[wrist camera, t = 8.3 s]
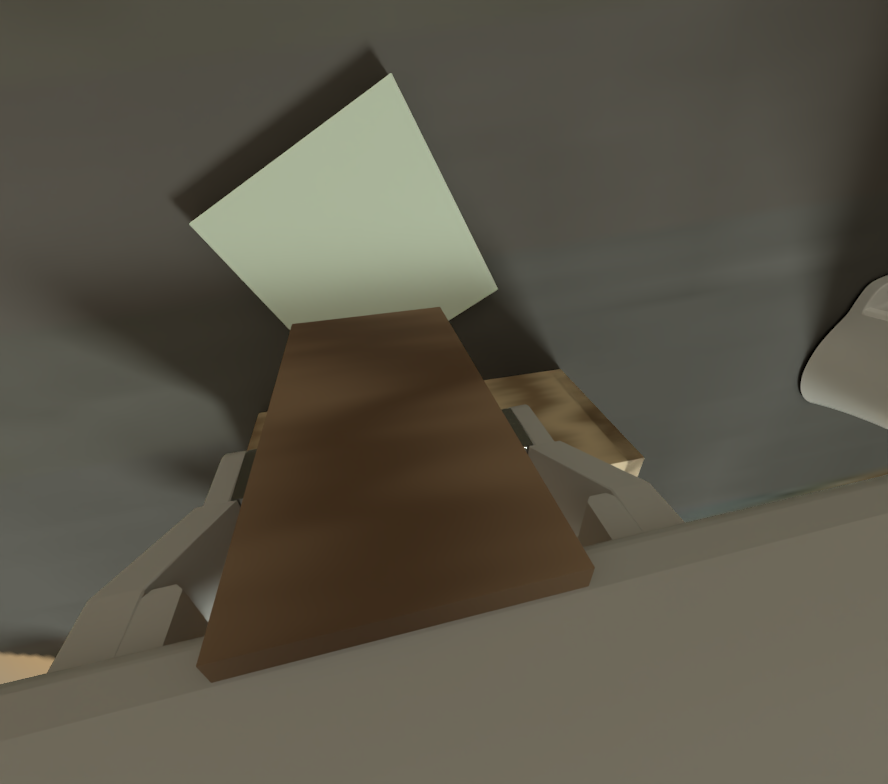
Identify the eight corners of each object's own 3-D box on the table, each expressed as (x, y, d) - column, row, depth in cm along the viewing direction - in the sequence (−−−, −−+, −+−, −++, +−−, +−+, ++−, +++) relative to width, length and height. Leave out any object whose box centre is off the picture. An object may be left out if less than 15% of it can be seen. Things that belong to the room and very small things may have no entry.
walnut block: (439, 306, 12) (594, 567, 5) (444, 419, 14) (549, 703, 7) (292, 324, 11) (195, 667, 4) (324, 439, 14) (302, 779, 6)
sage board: (389, 75, 21) (391, 72, 20) (493, 284, 29) (498, 289, 28) (195, 220, 23) (188, 223, 22) (344, 379, 31) (343, 387, 30)
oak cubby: (560, 369, 35) (644, 457, 25) (542, 478, 43) (600, 577, 33) (258, 412, 31) (218, 540, 21) (301, 525, 39) (287, 654, 29)
